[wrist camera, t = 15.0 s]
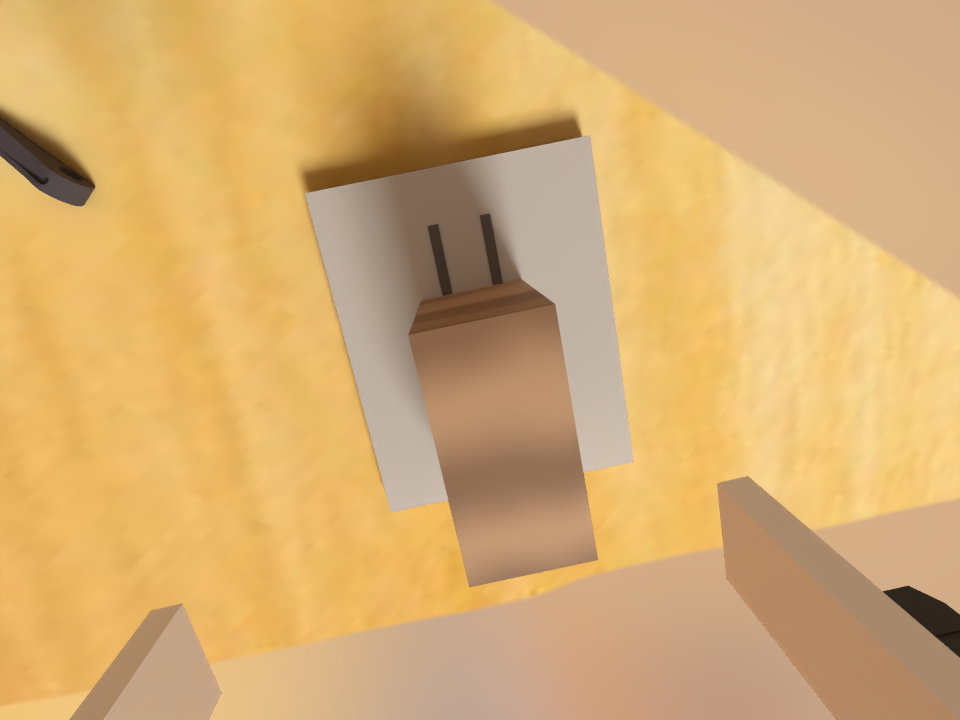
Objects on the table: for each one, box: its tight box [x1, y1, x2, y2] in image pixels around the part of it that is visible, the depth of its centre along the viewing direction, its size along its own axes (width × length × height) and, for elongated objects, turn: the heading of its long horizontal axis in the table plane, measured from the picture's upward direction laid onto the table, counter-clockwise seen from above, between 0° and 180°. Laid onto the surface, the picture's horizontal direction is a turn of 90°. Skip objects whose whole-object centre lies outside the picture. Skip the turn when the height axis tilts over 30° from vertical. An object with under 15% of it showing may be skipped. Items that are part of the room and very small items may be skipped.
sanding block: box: [408, 279, 598, 587], centre depth 27 cm, size 12×6×10 cm, turn 11°
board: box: [305, 135, 634, 512], centre depth 32 cm, size 20×16×2 cm
